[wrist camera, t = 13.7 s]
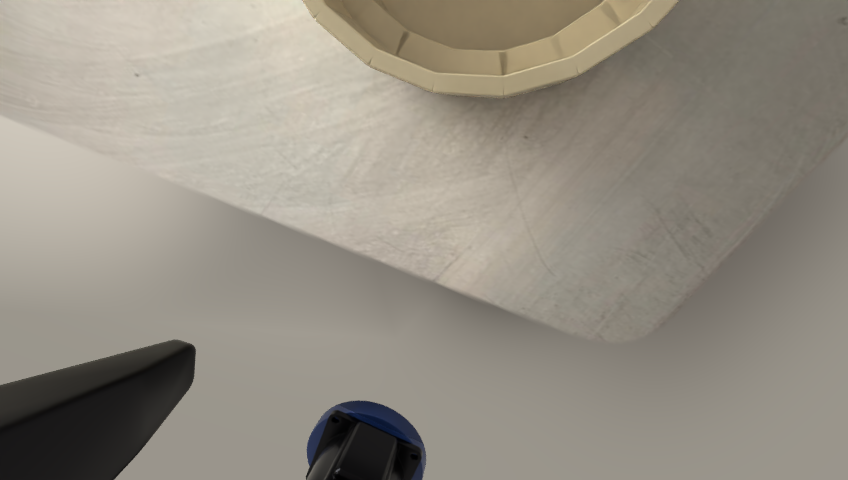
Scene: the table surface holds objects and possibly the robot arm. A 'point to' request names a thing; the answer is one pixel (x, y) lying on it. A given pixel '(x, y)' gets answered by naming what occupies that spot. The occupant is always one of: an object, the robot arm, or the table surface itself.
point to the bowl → (486, 39)
